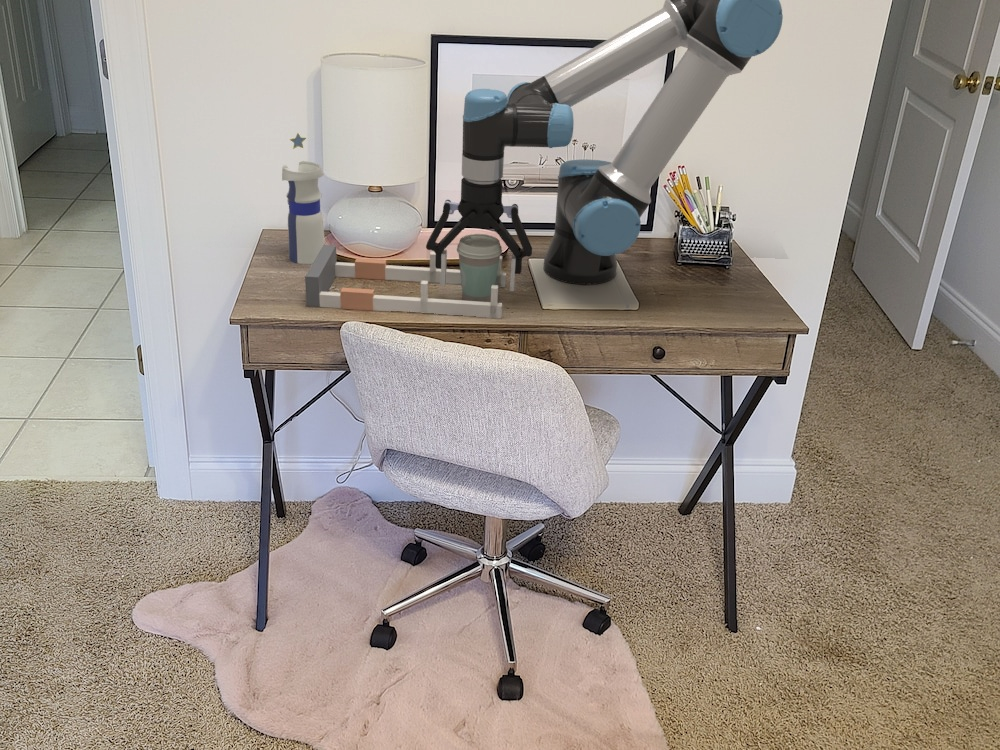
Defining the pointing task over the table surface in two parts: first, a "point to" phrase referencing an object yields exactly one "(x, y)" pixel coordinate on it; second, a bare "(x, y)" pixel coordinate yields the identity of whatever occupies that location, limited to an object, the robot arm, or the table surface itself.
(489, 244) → the coffee cup
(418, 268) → the comb channel
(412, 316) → the table surface
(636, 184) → the robot arm
